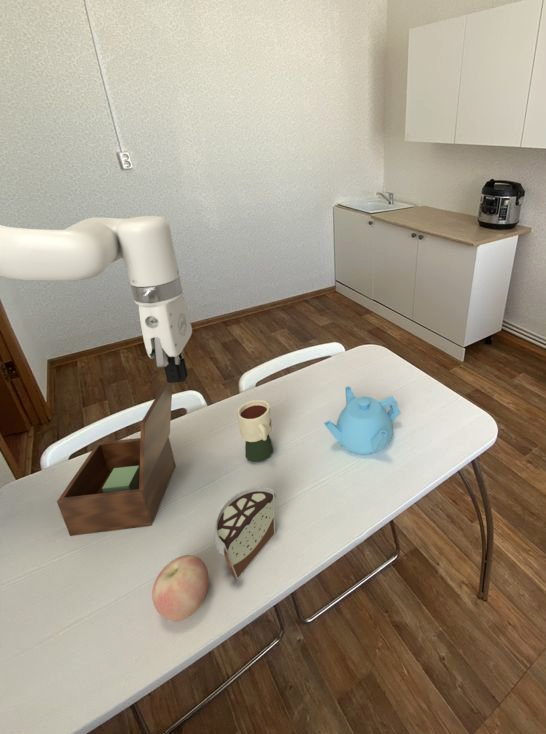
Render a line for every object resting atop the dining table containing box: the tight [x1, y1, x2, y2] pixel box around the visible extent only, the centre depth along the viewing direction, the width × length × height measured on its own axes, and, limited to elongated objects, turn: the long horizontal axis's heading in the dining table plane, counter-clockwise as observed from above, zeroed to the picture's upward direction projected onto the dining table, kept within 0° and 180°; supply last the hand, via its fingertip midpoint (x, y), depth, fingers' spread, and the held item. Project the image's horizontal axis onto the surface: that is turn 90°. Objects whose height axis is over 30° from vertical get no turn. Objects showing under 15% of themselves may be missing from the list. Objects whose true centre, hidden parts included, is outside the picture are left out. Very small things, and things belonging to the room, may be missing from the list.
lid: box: [139, 379, 173, 490], centre depth 75 cm, size 15×15×1 cm
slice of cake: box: [213, 486, 278, 581], centre depth 68 cm, size 12×6×10 cm, turn 149°
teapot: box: [323, 385, 401, 456], centre depth 93 cm, size 15×15×11 cm
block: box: [102, 466, 140, 493], centre depth 78 cm, size 5×5×5 cm
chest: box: [56, 436, 176, 537], centre depth 78 cm, size 15×15×9 cm
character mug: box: [236, 399, 274, 463], centre depth 88 cm, size 11×7×13 cm, turn 37°
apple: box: [151, 554, 210, 622], centre depth 60 cm, size 8×8×8 cm
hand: (178, 379), depth 72 cm, fingers closed
